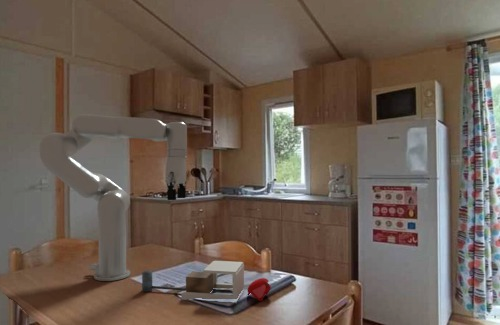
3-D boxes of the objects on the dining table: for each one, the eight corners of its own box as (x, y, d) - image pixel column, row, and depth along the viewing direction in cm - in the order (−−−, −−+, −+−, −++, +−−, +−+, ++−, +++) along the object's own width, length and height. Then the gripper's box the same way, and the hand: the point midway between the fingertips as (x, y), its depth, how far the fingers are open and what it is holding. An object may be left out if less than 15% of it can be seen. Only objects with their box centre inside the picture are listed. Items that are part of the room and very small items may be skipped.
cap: (275, 284, 111) (260, 273, 113) (272, 284, 105) (256, 271, 107) (260, 306, 109) (245, 294, 112) (257, 307, 104) (241, 294, 106)
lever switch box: (181, 299, 107) (181, 268, 107) (193, 287, 118) (193, 259, 118) (236, 303, 104) (236, 271, 104) (244, 290, 115) (243, 262, 115)
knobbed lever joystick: (138, 292, 112) (138, 274, 112) (147, 286, 118) (147, 268, 118) (207, 297, 108) (207, 278, 108) (213, 291, 114) (213, 272, 114)
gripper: (176, 155, 144) (176, 197, 144) (157, 153, 127) (157, 200, 127) (193, 155, 143) (193, 197, 143) (177, 153, 126) (177, 201, 126)
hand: (176, 199), depth 135 cm, fingers open, 9 cm apart
